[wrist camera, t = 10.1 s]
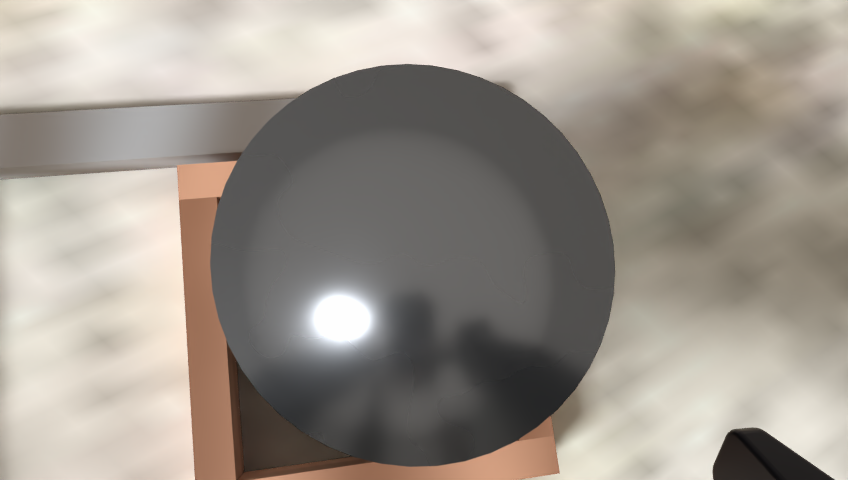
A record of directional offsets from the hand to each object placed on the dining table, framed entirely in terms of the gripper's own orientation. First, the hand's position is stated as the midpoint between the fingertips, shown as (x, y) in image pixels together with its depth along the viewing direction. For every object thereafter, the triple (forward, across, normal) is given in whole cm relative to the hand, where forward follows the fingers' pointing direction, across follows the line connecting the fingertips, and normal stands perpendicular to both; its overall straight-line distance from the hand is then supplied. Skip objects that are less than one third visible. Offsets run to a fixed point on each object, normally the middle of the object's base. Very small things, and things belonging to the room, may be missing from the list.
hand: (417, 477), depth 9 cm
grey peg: (+10, 0, +6) cm, 12 cm away
